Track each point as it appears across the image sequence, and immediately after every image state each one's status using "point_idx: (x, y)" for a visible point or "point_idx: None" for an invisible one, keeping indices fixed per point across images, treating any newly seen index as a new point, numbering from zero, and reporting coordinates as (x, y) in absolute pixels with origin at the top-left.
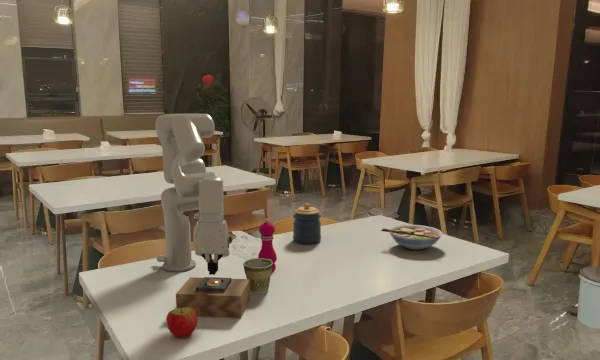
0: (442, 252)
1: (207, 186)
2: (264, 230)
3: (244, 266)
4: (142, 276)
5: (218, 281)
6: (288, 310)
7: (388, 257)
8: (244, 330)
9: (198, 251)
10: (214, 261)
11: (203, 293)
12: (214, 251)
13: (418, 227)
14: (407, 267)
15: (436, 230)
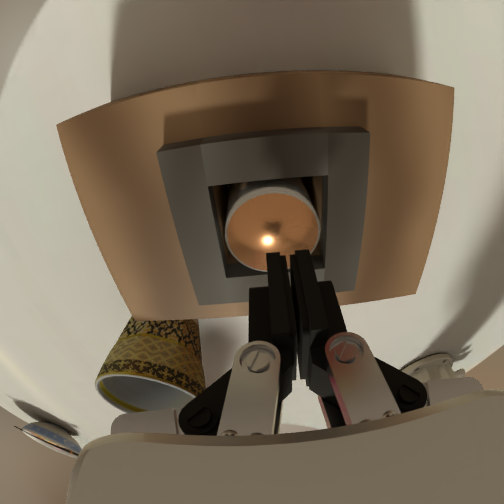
0: (25, 412)
1: None
2: None
3: (185, 385)
4: (489, 318)
5: (243, 241)
6: (19, 213)
7: (57, 414)
8: (66, 23)
9: (495, 413)
10: (267, 354)
11: (298, 96)
12: (235, 486)
13: (64, 451)
14: (17, 389)
15: (41, 442)
